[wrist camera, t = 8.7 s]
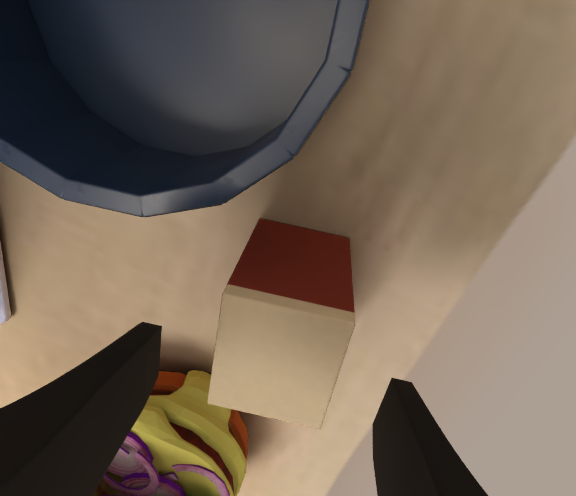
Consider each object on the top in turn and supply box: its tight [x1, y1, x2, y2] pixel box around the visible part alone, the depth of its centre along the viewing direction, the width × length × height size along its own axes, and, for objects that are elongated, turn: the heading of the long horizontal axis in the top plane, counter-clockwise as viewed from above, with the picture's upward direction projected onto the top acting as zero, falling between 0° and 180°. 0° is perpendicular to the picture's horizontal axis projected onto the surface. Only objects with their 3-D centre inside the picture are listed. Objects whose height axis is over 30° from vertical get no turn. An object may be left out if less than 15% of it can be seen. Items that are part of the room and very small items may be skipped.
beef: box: [207, 218, 355, 429], centre depth 15 cm, size 5×4×6 cm
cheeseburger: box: [93, 370, 248, 496], centre depth 20 cm, size 10×11×10 cm
